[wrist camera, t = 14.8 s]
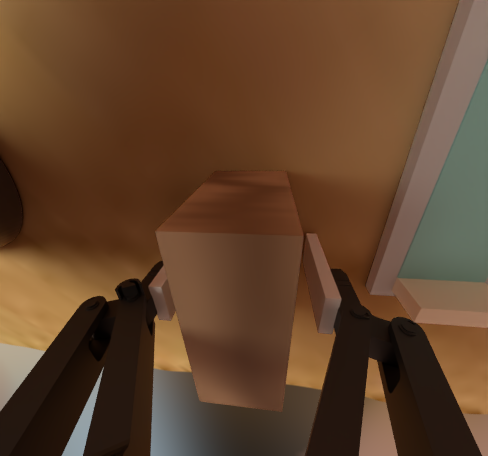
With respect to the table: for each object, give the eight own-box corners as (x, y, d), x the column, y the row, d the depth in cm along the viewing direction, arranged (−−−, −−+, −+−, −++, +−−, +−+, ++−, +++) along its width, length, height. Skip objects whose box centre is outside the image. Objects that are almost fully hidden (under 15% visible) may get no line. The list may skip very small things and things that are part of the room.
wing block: (226, 292, 21) (199, 401, 13) (215, 170, 15) (154, 231, 7) (277, 295, 20) (281, 411, 12) (285, 170, 14) (303, 235, 7)
